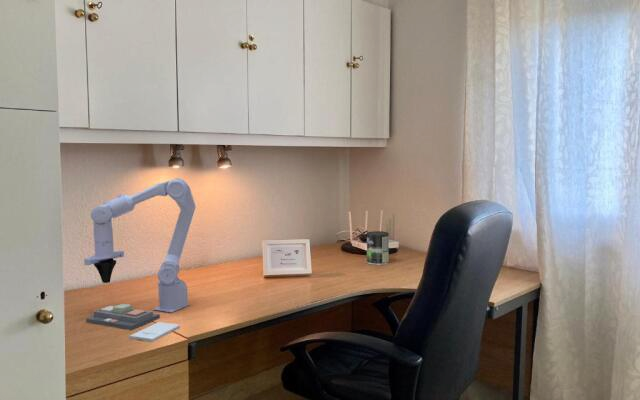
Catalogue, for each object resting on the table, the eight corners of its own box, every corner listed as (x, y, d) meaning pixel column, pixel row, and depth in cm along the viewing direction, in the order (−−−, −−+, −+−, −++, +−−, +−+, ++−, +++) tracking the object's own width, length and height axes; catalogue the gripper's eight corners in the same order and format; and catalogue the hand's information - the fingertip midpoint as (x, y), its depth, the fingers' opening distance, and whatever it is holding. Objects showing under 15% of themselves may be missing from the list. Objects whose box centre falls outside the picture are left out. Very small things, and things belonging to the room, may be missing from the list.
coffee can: (372, 265, 235) (371, 235, 234) (363, 261, 245) (363, 232, 244) (392, 264, 238) (392, 233, 237) (383, 259, 248) (383, 230, 247)
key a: (110, 311, 169) (110, 305, 169) (119, 313, 167) (119, 307, 167) (100, 315, 166) (100, 309, 165) (110, 316, 164) (109, 310, 164)
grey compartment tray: (116, 311, 174) (115, 303, 173) (159, 318, 166) (159, 309, 165) (86, 322, 163) (85, 313, 163) (131, 330, 155) (130, 320, 155)
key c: (136, 315, 164) (135, 309, 164) (145, 317, 163) (145, 310, 163) (126, 319, 161) (126, 313, 161) (136, 320, 159) (135, 314, 159)
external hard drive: (179, 329, 156) (152, 344, 145) (157, 327, 159) (128, 340, 148) (179, 324, 156) (151, 338, 144) (157, 321, 159) (128, 335, 147)
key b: (123, 309, 167) (122, 303, 166) (132, 311, 165) (132, 304, 165) (113, 313, 163) (112, 307, 163) (122, 314, 161) (122, 308, 161)
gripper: (112, 237, 178) (114, 276, 179) (76, 244, 165) (79, 286, 166) (127, 238, 175) (129, 278, 176) (92, 246, 162) (94, 288, 163)
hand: (106, 282), depth 171 cm, fingers closed
